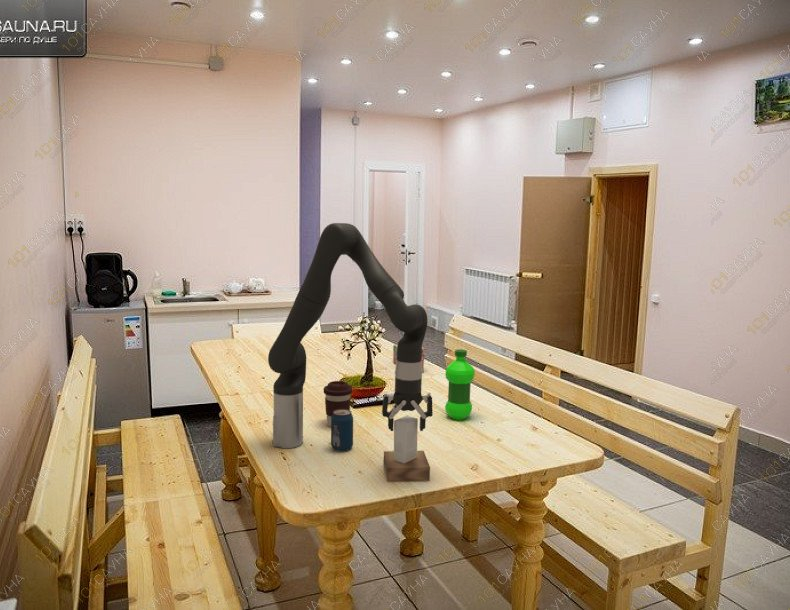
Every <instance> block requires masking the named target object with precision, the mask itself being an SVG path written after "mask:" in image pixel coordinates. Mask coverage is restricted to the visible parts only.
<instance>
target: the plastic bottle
mask: <svg viewBox="0 0 790 610" xmlns="http://www.w3.org/2000/svg"><path fill="white" fill-rule="evenodd" d="M467 355H468V350H467V349H455V350H454V356H455V360H454V361H452V362H451V363H450V364H449V365H448V366H447V367H446V370H445V379H446V380H447V381H448V389H447V390H448V394H447V395H448V397H447V401H446V403H445V406H444V408H445V409H444V410H445V413H446V414H447V415H448V416H450V418H451V419H453V420H457V421H461V420H465V419H466V418H467V417H469V416H470V414H471V413H472V410H473V404H472V402H471V383H472V381H473V380H474V378H475V375H476V374H475V373H476V372H475V368H474V366H472V365H471V364H470V363H469V362H468V361H467V360H466V357H467Z"/></svg>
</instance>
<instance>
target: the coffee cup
mask: <svg viewBox="0 0 790 610" xmlns="http://www.w3.org/2000/svg"><path fill="white" fill-rule="evenodd" d="M323 394H324V395H325V397H324V402H325V403H324V405H325V414H326V422H327V423H326V424H327V426H328V427H330V428H331V416H332V415H333V411H334V410H337V409H348V410H350V411H351V401H352V399H351V395H352V394H353V387H352V386H350V385H349V383H348V382H346V381H343V380H334V381H329V382H328V383H327V385H326V386H324V387H323Z"/></svg>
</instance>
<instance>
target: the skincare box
mask: <svg viewBox="0 0 790 610" xmlns="http://www.w3.org/2000/svg"><path fill="white" fill-rule="evenodd" d="M418 421H419V420H418V418H416V417H415V416H414V417H413V416H410V415H405V416H403V417H399V418H397V419H395V420H394V425H393V451H394V460H395V461H398V462H401V463H404V464H405V463H407V462H409V461H411V460H413V459H415V458H417V451H418Z"/></svg>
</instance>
